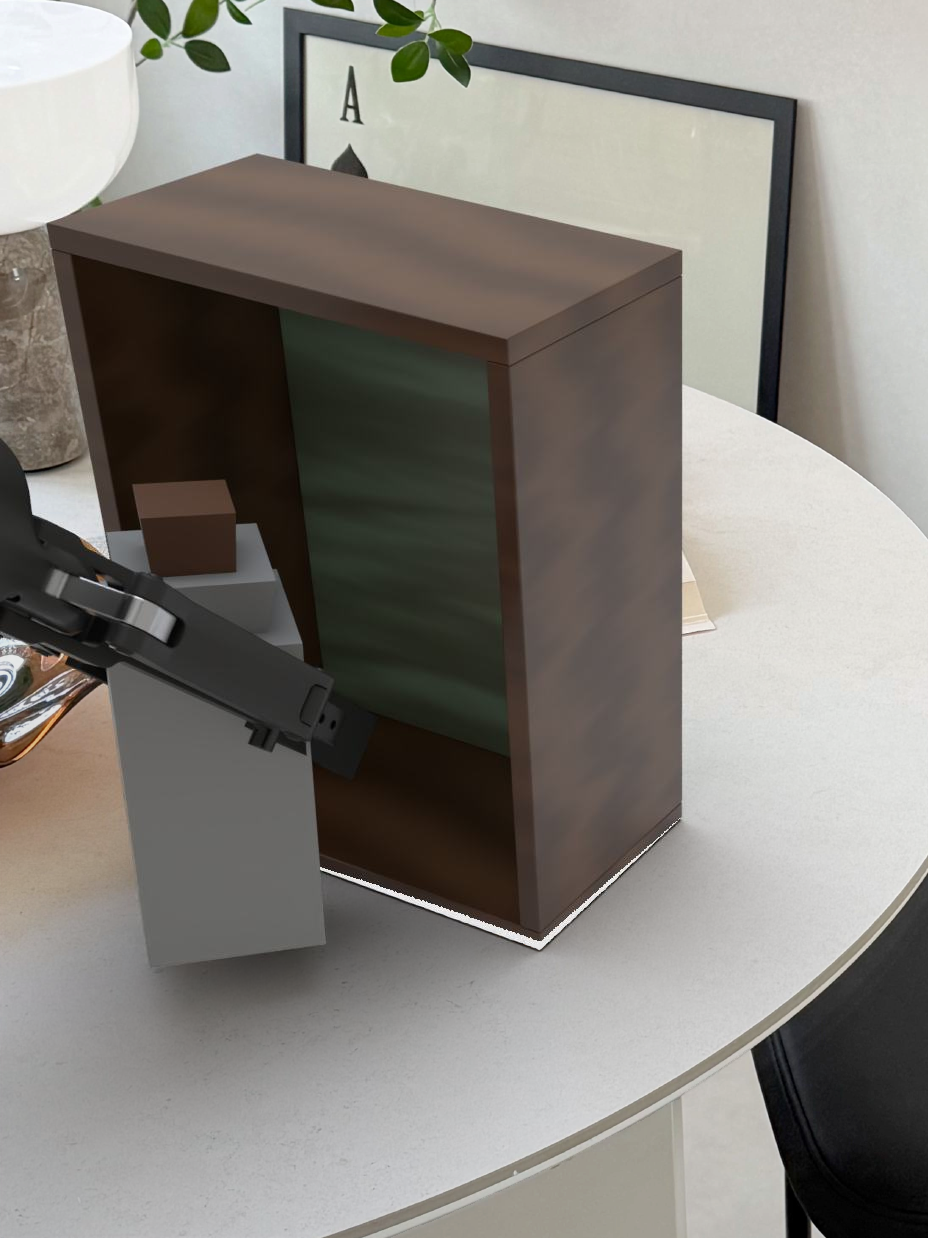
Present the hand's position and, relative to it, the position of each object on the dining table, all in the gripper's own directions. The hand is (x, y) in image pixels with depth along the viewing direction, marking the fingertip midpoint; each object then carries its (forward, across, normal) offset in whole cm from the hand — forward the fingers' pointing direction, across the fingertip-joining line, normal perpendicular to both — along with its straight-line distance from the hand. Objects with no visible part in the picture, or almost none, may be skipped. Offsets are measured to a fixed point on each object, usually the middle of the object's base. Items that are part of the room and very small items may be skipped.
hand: (271, 716), depth 79 cm
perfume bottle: (+3, 0, +8) cm, 8 cm away
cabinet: (+13, 0, +1) cm, 13 cm away
